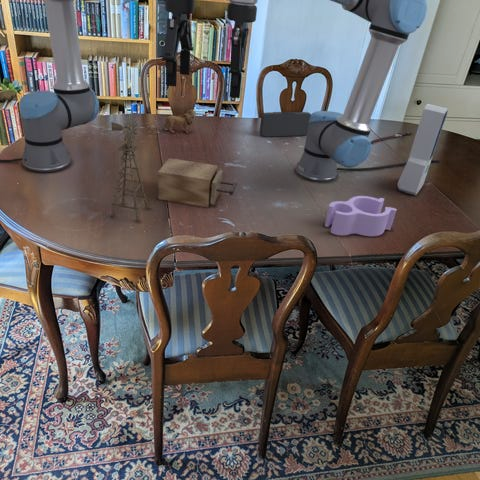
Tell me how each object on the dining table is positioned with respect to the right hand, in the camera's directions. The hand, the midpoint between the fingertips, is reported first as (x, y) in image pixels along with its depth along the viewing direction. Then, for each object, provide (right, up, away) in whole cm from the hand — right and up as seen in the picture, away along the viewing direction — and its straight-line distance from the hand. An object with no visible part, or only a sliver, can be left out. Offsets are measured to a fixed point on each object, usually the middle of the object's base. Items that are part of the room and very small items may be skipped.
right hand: (234, 96), depth 131 cm
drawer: (-10, -26, +18) cm, 33 cm away
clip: (+37, -36, +12) cm, 53 cm away
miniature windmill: (-31, -32, +7) cm, 45 cm away
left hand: (-16, +5, +1) cm, 17 cm away
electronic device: (+64, -21, +40) cm, 78 cm away
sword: (+71, +6, +83) cm, 110 cm away
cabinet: (-15, -26, +19) cm, 36 cm away
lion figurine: (-24, +6, +67) cm, 71 cm away
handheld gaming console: (+21, +6, +74) cm, 77 cm away
